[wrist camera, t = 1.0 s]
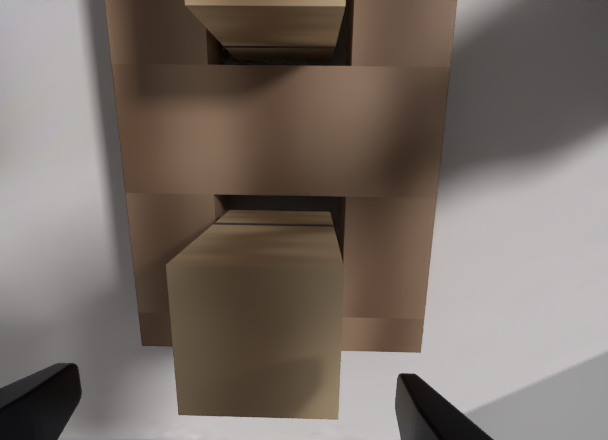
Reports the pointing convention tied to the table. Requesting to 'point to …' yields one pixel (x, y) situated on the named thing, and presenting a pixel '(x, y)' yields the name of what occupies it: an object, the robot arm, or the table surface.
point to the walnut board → (286, 138)
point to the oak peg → (259, 317)
